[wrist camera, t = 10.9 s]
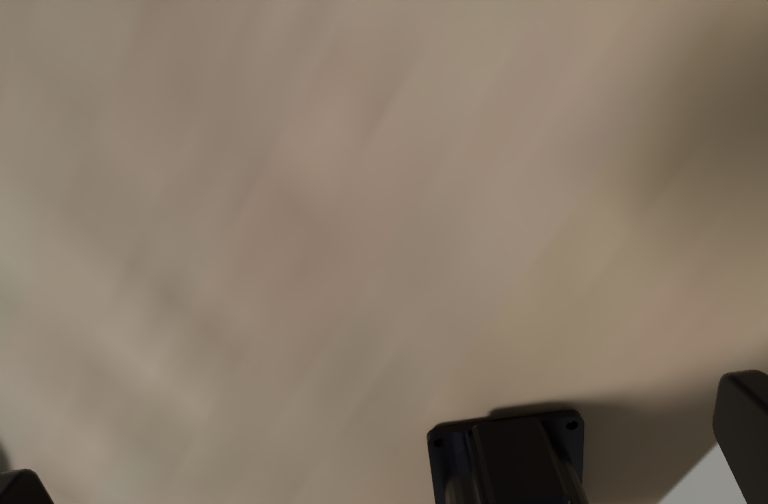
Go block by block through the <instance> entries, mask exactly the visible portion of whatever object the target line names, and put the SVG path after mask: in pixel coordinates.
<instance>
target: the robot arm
mask: <svg viewBox="0 0 768 504" xmlns="http://www.w3.org/2000/svg"><path fill="white" fill-rule="evenodd" d="M570 421H573V422H571V423H568V422H570ZM713 430H714V434H715V437H716V439H717V442H718V444H719V446H720V448H721V450H722V452H723V454H724V456H725V458H726V460H727V462H728V465H729V466H730V469H731V471H732V473H733V475H734V477H735V479H736V481H737V483H738V485H739V488H740V489H741V491H742V494H743V496H744V498H745V500H746V502H747V504H768V375H767V374H765V373H763V372H761V371H758V370H745V371H737V372H730V373H726V374H724V375H723V376H722V377H721V379H720V381H719V385H718V391H717V397H716V402H715V408H714V414H713ZM437 439H442V440H439V441H438V440H437ZM583 443H584V421H583V419H582V417H581V414H580V413H579V412H578V411H576V410H563V411H556V412H548V413H541V414H533V415H526V416H519V417H511V418H504V419H496V420H489V421H481V422H474V423H467V424H459V425H452V426H444V427H437V428H434V429H432V430H430V431H429V432H428V434H427V444H428V452H429V459H430V466H431V474H432V481H433V489H434V496H435V503H436V504H589V502H588V500H587V497H586V495H585V492H584V490H583V488H582V470H583ZM0 504H54V502H53V501H52V499H51V497H50V496H49V494H48V492H47V490H46V489H45V487H44V485H43V484H42V482H41V480H40V479H39V477H38V475H37V474H36V473H35V472H34V471H32V470H30V469H21V470H13V471H6V472H1V473H0Z"/></svg>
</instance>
